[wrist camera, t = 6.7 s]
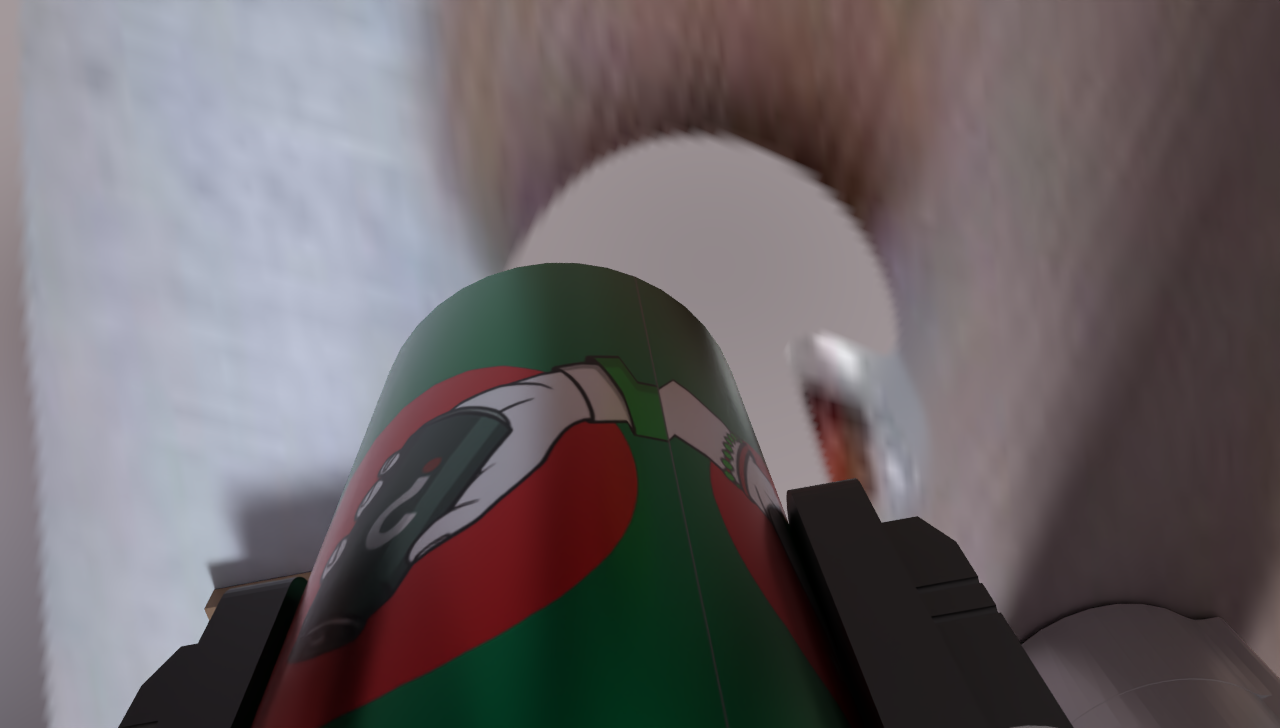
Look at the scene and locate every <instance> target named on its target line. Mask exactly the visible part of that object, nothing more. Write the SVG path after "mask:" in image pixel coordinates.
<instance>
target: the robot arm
mask: <svg viewBox="0 0 1280 728" xmlns="http://www.w3.org/2000/svg"><path fill="white" fill-rule="evenodd" d="M787 511H788V520H789V526H790V528H791V531H792V534H793V536H794V539H795V542H796V544H797V547H798V550H799V552H800V555H801V558H802V560H803V563H804V566H805V568H806V571H807V574H808V576H809V579H810V582H811V584H812V587H813V589H814V592H815V595H816V597H817V600H818V603H819V605H820V608H821V611H822V613H823V616H824V619H825V621H826V624H827V627H828V629H829V632H830V635H831V637H832V640H833V643H834V645H835V648H836V650H837V653H838V656H839V658H840V661H841V664H842V666H843V669H844V672H845V674H846V677H847V680H848V682H849V685H850V688H851V690H852V693H853V696H854V698H855V701H856V704H857V706H858V709H859V712H860V714H861V717H862V719H863V722H864V725H865V727H866V728H1280V679H1279V677H1278V676H1277V675H1276V674H1275V673H1274V672H1273V671H1272V670H1271V669H1270V668H1269V667H1268V666H1267V665H1266V664H1265V663H1264V662H1263V661H1262V660H1261V659H1260V657H1259V656H1258V655H1257V654H1256V653H1255V652H1254V651H1253V650H1252V649H1251V648H1250V647H1249V646H1248V645H1247V644H1246V643H1245V642H1244V641H1243V640H1242V639H1241V637H1240V636H1239V635H1238V634H1237V633H1236V632H1235V631H1234V630H1233V629H1232V628H1231V627H1230V626H1229V625H1228V624H1227V623H1226V622H1225V621H1224V620H1223V619H1222V618H1221V617H1214V618H1209V619H1204V620H1193V619H1190V618H1187V617H1184V616H1182V615H1179V614H1177V613H1175V612H1173V611H1170V610H1168V609H1166V608H1161V607H1156V606H1150V605H1145V604H1114V605H1108V606H1102V607H1097V608H1091V609H1088V610H1085V611H1082V612H1079V613H1076V614H1073V615H1070V616H1068V617H1065V618H1063V619H1061V620H1059V621H1057V622H1055V623H1053V624H1051V625H1049V626H1048V627H1046V628H1044V629H1042V630H1040V631H1039V632H1037V633H1036V634H1035V635H1033V636H1032V637H1031V638H1029V639H1028V640H1027V641H1025V642H1024V643H1023V644H1020V642H1019V640H1018V639H1017V637H1016V636H1015V634H1014V633H1013V631H1012V629H1011V628H1010V626H1009V625H1008V623H1007V621H1006V620H1005V618H1004V617H1003V615H1002V614H1001V613H998V611H997V608H996V604H995V602H994V601H993V599H992V598H991V596H990V595H989V593H988V591H987V590H986V588H985V587H984V585H983V584H982V583H979V580H978V576H977V574H976V572H975V571H974V569H973V568H972V566H971V565H970V563H969V561H968V560H967V558H966V557H965V555H964V553H963V552H962V550H961V549H960V547H959V546H958V544H957V542H956V541H954V540H953V539H951V538H950V537H948V536H947V535H945V534H944V533H942V532H940V531H939V530H937V529H936V528H934V527H933V526H931V525H930V524H928V523H927V522H925V521H924V520H922V519H921V518H919V517H918V516H917V517H911V518H906V519H900V520H895V521H889V522H883V523H881V521H880V519H879V517H878V515H877V513H876V511H875V510H874V508H873V506H872V504H871V502H870V500H869V498H868V496H867V494H866V493H865V491H864V489H863V487H862V485H861V483H860V482H859V481H858V479H856V478H854V479H848V480H843V481H837V482H832V483H826V484H820V485H815V486H810V487H804V488H798V489H792V490H788V491H787ZM307 582H308V581H307V580H306V579H305V578H303V577H301V576H300V577H293V578H288V579H282V580H276V581H271V582H265V583H260V584H254V585H249V586H243V587H237V588H232V589H229V590H227V591H226V592H225V593H224V594H223V596H222V597H221V599H220V601H219V603H218V605H217V607H216V609H215V611H214V613H213V615H212V617H211V619H210V621H209V623H208V625H207V627H206V629H205V631H204V633H203V635H202V637H201V638H200V640H199V642H198V644H193V645H187V646H182V647H180V648H179V649H178V650H177V651H176V652H175V653H174V654H173V655H172V656H171V657H170V658H169V659H168V660H167V661H166V662H165V663H164V664H163V665H162V666H161V667H160V668H159V669H158V670H157V671H156V672H155V673H154V674H153V675H152V676H151V677H150V678H149V679H148V680H147V681H146V682H145V683H144V684H143V685H142V686H141V688H140V689H139V691H138V693H137V695H136V697H135V698H134V700H133V702H132V704H131V706H130V707H129V709H128V711H127V713H126V715H125V716H124V718H123V720H122V722H121V724H120V725H119V727H118V728H251V726H252V724H253V721H254V718H255V716H256V713H257V711H258V708H259V706H260V703H261V700H262V698H263V695H264V693H265V690H266V688H267V685H268V682H269V680H270V677H271V675H272V672H273V670H274V667H275V664H276V662H277V659H278V657H279V654H280V652H281V649H282V647H283V644H284V641H285V639H286V636H287V634H288V631H289V629H290V626H291V623H292V621H293V618H294V616H295V613H296V611H297V608H298V605H299V603H300V600H301V598H302V595H303V593H304V590H305V588H306V585H307Z"/></svg>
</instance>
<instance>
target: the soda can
mask: <svg viewBox="0 0 1280 728" xmlns="http://www.w3.org/2000/svg"><path fill="white" fill-rule="evenodd" d="M251 728H866V727H865V725H864V722H863V719H862V717H861V714H860V712H859V709H858V706H857V704H856V701H855V698H854V696H853V693H852V690H851V688H850V685H849V682H848V680H847V677H846V674H845V672H844V669H843V666H842V664H841V661H840V658H839V656H838V653H837V650H836V648H835V645H834V643H833V640H832V637H831V635H830V632H829V629H828V627H827V624H826V621H825V619H824V616H823V613H822V611H821V608H820V605H819V603H818V600H817V597H816V595H815V592H814V589H813V587H812V584H811V582H810V579H809V576H808V574H807V571H806V568H805V566H804V563H803V560H802V558H801V555H800V552H799V550H798V547H797V544H796V542H795V539H794V536H793V534H792V531H791V528H790V526H789V523H788V521H787V518H786V515H785V513H784V510H783V507H782V505H781V502H780V499H779V497H778V494H777V491H776V489H775V486H774V483H773V481H772V478H771V475H770V473H769V470H768V468H767V465H766V462H765V460H764V457H763V454H762V451H761V449H760V446H759V444H758V441H757V438H756V436H755V433H754V430H753V428H752V425H751V422H750V420H749V417H748V414H747V412H746V409H745V407H744V404H743V401H742V398H741V396H740V393H739V391H738V388H737V385H736V382H735V380H734V377H733V375H732V372H731V370H730V368H729V365H728V363H727V361H726V359H725V357H724V355H723V353H722V351H721V349H720V347H719V346H718V344H717V343H716V342H715V340H714V339H713V337H712V336H711V335H710V333H709V332H708V330H707V329H706V327H705V326H704V325H703V324H702V323H701V322H700V321H699V320H698V319H697V318H696V317H695V316H694V315H693V314H692V313H691V312H690V311H689V310H688V309H687V308H686V307H685V306H683V305H682V304H681V303H679V302H678V301H676V300H675V299H674V298H672V297H671V296H669V295H668V294H667V293H665V292H664V291H662V290H661V289H659V288H657V287H655V286H653V285H650V284H649V283H647V282H645V281H643V280H641V279H639V278H636V277H634V276H631V275H628V274H625V273H621V272H618V271H615V270H612V269H609V268H604V267H598V266H592V265H585V264H578V263H544V264H538V265H531V266H524V267H517V268H514V269H510V270H507V271H504V272H501V273H497V274H494V275H491V276H488V277H486V278H484V279H482V280H480V281H477V282H475V283H473V284H471V285H469V286H467V287H465V288H463V289H461V290H460V291H458V292H457V293H455V294H454V295H453V296H451V297H450V298H448V299H447V300H445V301H444V302H443V303H441V304H440V305H438V306H437V307H436V308H435V309H434V310H433V311H432V312H431V313H430V314H429V315H428V316H427V317H426V318H425V319H424V320H423V321H422V322H421V323H420V324H419V325H418V326H417V327H416V328H415V330H414V331H413V332H412V334H411V335H410V337H409V338H408V339H407V341H406V342H405V343H404V345H403V346H402V348H401V349H400V351H399V354H398V356H397V358H396V360H395V362H394V364H393V366H392V368H391V370H390V372H389V375H388V377H387V380H386V382H385V385H384V387H383V390H382V393H381V395H380V398H379V400H378V403H377V405H376V408H375V410H374V413H373V416H372V418H371V421H370V423H369V426H368V428H367V431H366V434H365V436H364V439H363V441H362V444H361V446H360V449H359V452H358V454H357V457H356V459H355V462H354V464H353V467H352V469H351V472H350V475H349V477H348V480H347V482H346V485H345V487H344V490H343V493H342V495H341V498H340V500H339V503H338V505H337V508H336V511H335V513H334V516H333V518H332V521H331V523H330V526H329V529H328V531H327V534H326V536H325V539H324V541H323V544H322V546H321V549H320V552H319V554H318V557H317V559H316V562H315V564H314V567H313V570H312V572H311V575H310V577H309V580H308V582H307V585H306V588H305V590H304V593H303V595H302V598H301V600H300V603H299V605H298V608H297V611H296V613H295V616H294V618H293V621H292V623H291V626H290V629H289V631H288V634H287V636H286V639H285V641H284V644H283V647H282V649H281V652H280V654H279V657H278V659H277V662H276V664H275V667H274V670H273V672H272V675H271V677H270V680H269V682H268V685H267V688H266V690H265V693H264V695H263V698H262V700H261V703H260V706H259V708H258V711H257V713H256V716H255V718H254V721H253V724H252V726H251Z"/></svg>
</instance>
